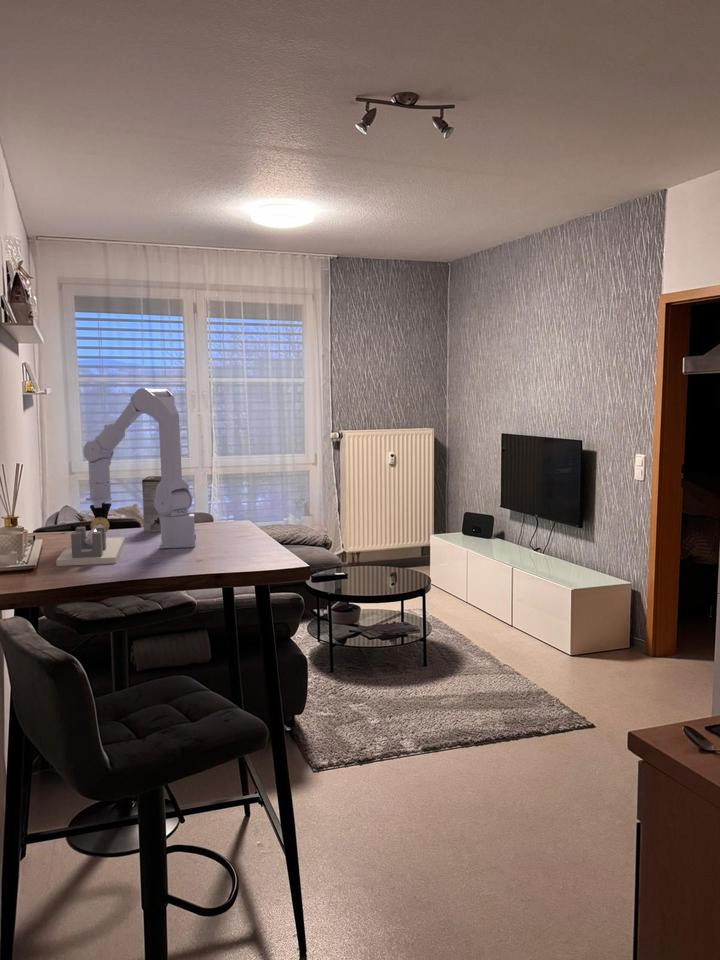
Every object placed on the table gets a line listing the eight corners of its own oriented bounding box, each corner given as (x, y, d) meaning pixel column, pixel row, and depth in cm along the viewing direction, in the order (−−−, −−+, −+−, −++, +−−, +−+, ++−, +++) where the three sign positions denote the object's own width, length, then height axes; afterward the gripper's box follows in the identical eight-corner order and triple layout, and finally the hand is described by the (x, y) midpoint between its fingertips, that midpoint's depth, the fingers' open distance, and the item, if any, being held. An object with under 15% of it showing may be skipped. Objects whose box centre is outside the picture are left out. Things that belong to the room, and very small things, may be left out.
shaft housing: (124, 542, 220) (123, 516, 219) (115, 563, 194) (114, 533, 193) (72, 544, 217) (71, 518, 216) (56, 566, 191) (55, 536, 190)
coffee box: (150, 526, 246) (148, 476, 244) (170, 526, 246) (168, 475, 244) (143, 531, 237) (141, 479, 235) (164, 531, 237) (162, 479, 235)
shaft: (109, 533, 223) (108, 516, 222) (100, 549, 200) (99, 530, 200) (91, 534, 222) (90, 517, 221) (79, 550, 199) (79, 531, 199)
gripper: (88, 480, 230) (90, 525, 232) (81, 485, 216) (83, 533, 218) (113, 479, 232) (115, 524, 233) (108, 485, 218) (110, 532, 219)
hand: (101, 528), depth 226 cm, fingers closed
